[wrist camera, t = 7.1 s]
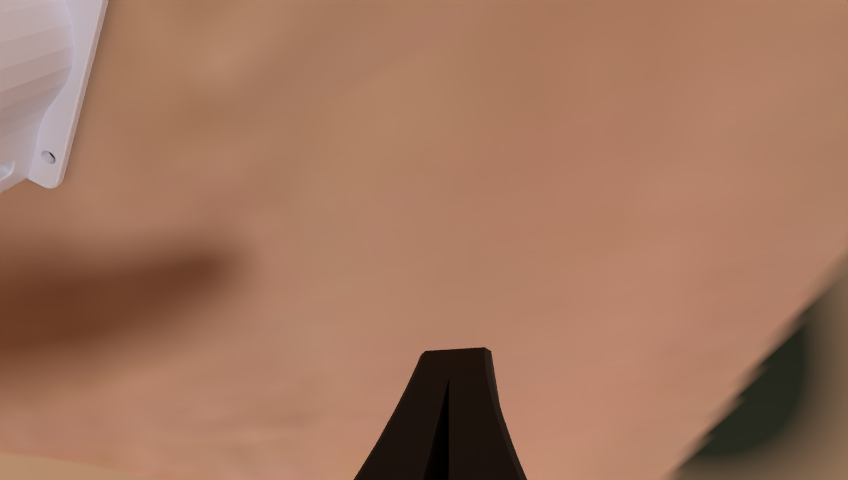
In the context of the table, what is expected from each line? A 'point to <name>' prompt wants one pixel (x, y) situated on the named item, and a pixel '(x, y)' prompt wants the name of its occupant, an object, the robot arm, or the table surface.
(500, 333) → the table surface
